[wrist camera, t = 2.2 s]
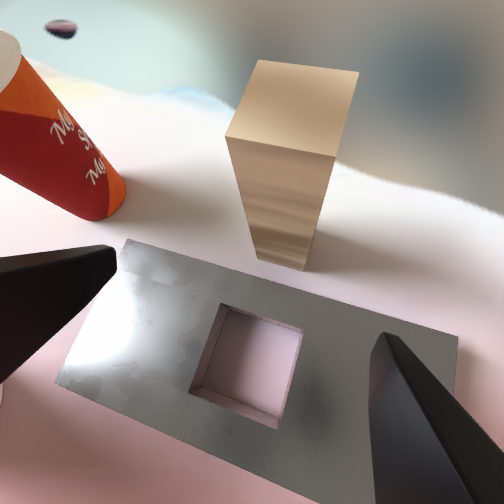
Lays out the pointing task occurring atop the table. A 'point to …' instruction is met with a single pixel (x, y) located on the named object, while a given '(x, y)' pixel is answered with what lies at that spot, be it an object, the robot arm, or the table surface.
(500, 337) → the table surface
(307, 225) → the maple peg
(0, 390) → the cylindrical container
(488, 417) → the table surface
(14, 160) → the paper cup
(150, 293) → the socket plate
